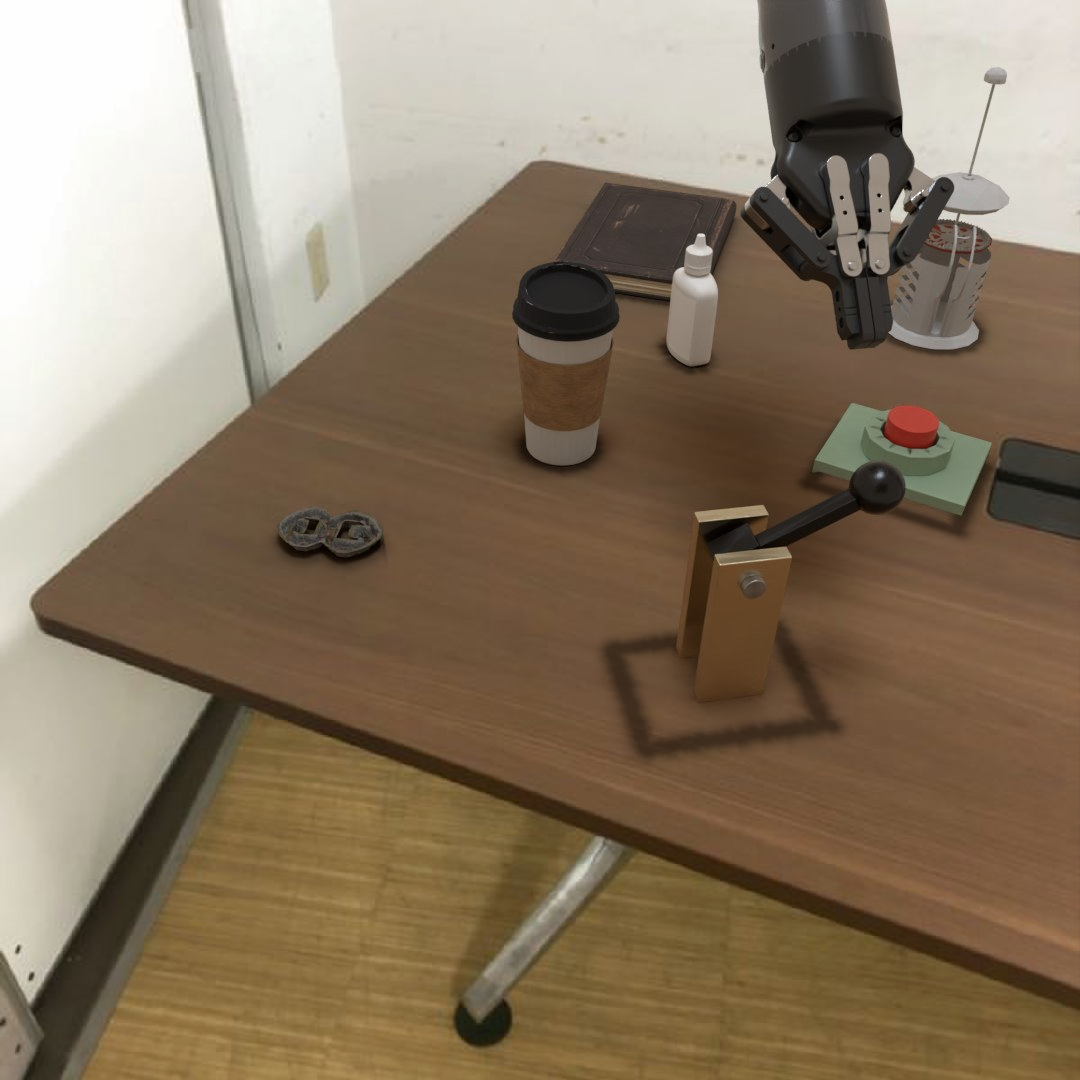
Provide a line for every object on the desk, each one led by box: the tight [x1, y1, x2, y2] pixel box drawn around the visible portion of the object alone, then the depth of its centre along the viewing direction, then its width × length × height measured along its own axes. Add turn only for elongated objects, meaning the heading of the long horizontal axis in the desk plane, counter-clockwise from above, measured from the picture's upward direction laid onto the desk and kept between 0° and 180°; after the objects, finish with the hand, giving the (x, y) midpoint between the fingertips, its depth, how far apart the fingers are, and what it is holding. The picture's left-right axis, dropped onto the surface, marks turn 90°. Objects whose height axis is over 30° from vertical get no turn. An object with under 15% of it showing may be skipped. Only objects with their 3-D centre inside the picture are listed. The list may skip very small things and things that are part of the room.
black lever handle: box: [706, 461, 906, 562], centre depth 66 cm, size 12×3×3 cm, turn 101°
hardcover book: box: [553, 182, 737, 302], centre depth 125 cm, size 16×23×2 cm
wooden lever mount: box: [675, 504, 793, 703], centre depth 70 cm, size 12×9×13 cm
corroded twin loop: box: [276, 506, 383, 559], centre depth 84 cm, size 5×8×1 cm, turn 82°
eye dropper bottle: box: [665, 234, 719, 367], centre depth 104 cm, size 4×6×12 cm
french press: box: [887, 66, 1010, 350], centre depth 104 cm, size 10×12×25 cm
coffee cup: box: [511, 261, 621, 467], centre depth 90 cm, size 8×8×15 cm
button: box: [884, 405, 940, 449], centre depth 90 cm, size 4×4×2 cm
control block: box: [811, 402, 993, 516], centre depth 92 cm, size 12×10×4 cm
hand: (868, 345), depth 65 cm, fingers closed
